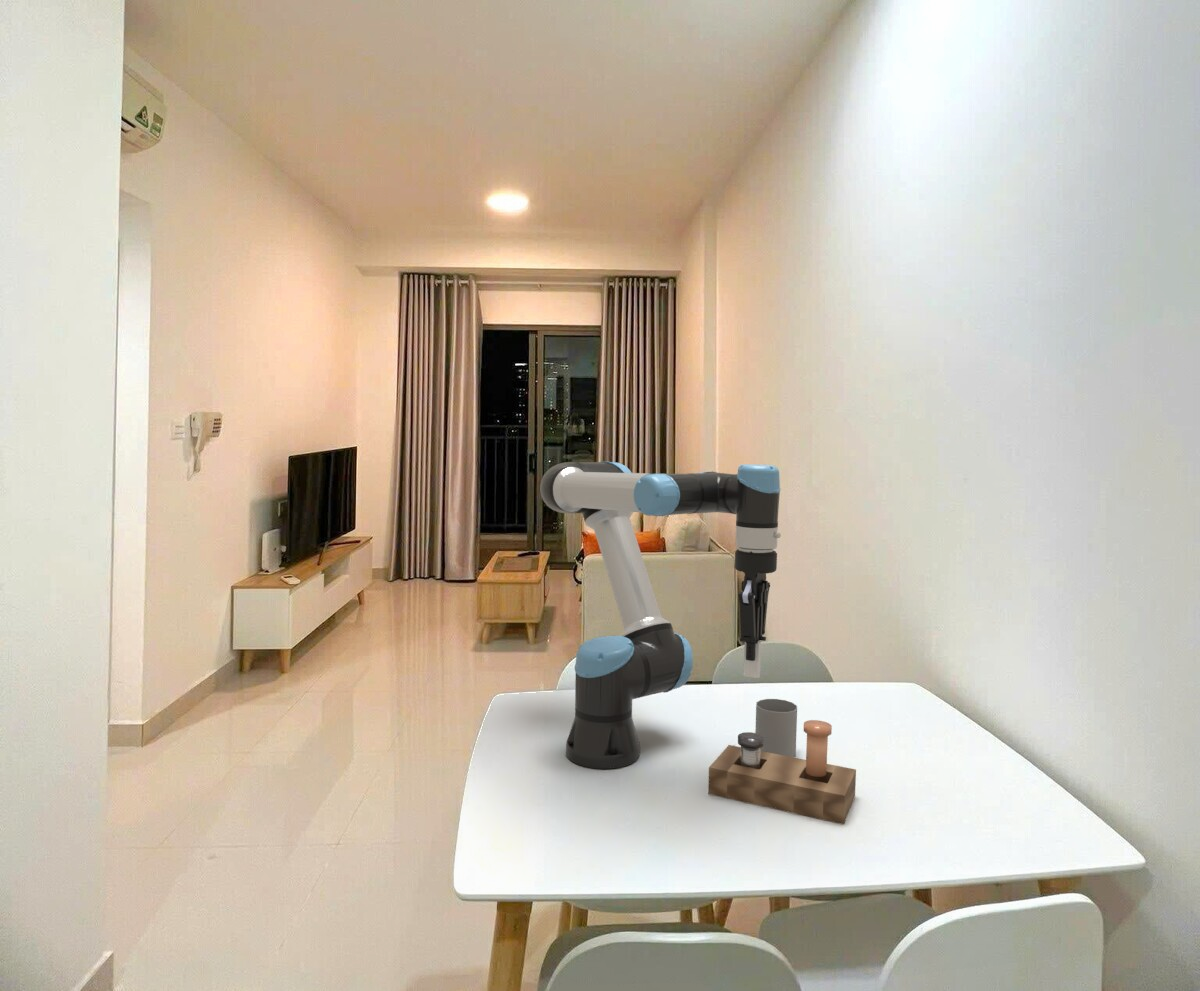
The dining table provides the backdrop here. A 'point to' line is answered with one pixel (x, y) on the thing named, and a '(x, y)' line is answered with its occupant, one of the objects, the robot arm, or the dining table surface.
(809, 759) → the plug terracotta
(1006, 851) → the dining table surface
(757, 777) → the socket block
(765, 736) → the cup
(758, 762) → the plug grey
